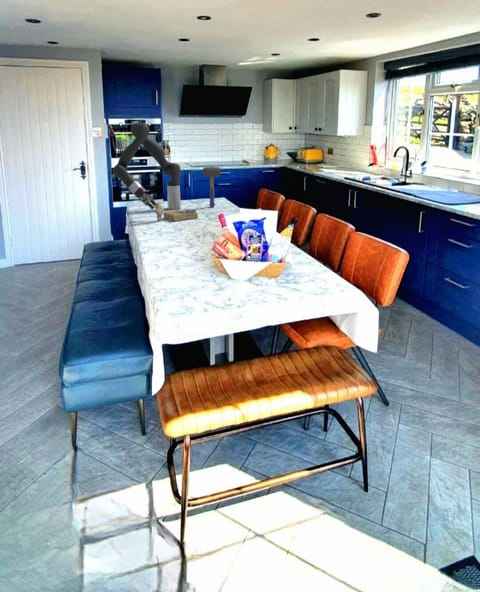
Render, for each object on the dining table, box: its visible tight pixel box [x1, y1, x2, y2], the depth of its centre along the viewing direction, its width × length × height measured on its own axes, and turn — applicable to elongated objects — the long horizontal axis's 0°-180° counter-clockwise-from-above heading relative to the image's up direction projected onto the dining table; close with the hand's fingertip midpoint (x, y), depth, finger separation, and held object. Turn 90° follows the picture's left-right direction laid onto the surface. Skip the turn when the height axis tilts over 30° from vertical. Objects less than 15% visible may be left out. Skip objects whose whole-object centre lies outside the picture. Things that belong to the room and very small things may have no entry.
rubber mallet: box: [202, 166, 221, 208], centre depth 381 cm, size 12×8×30 cm, turn 101°
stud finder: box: [186, 208, 197, 213], centre depth 346 cm, size 3×6×2 cm, turn 127°
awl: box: [154, 201, 164, 222], centre depth 338 cm, size 5×5×12 cm
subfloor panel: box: [163, 208, 199, 223], centre depth 348 cm, size 15×18×4 cm
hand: (155, 207), depth 337 cm, fingers open, 8 cm apart
